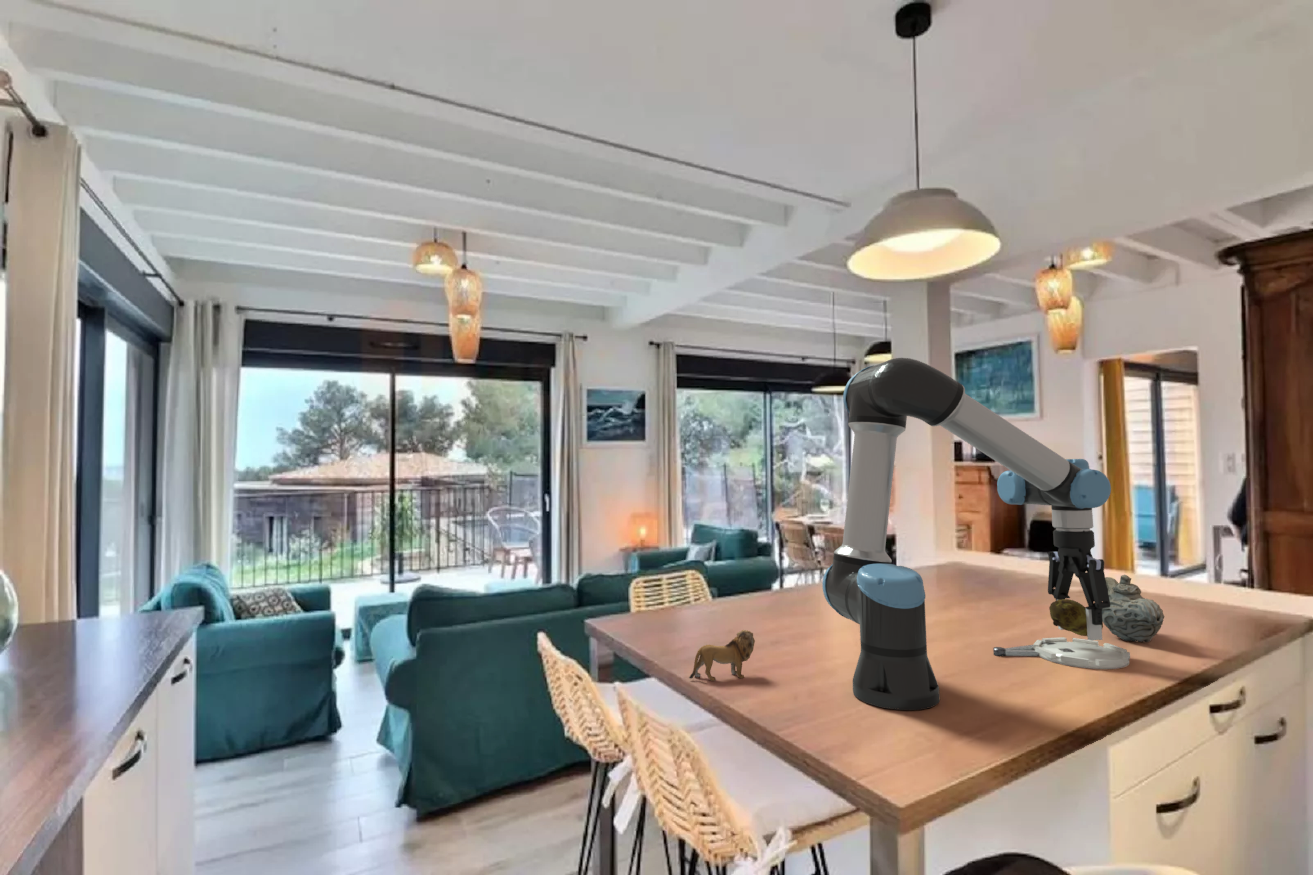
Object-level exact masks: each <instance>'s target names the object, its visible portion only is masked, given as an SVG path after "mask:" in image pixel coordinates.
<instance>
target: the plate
mask: <svg viewBox="0 0 1313 875" xmlns="http://www.w3.org/2000/svg"><path fill="white" fill-rule="evenodd" d="M1071 640H1072V641H1068V640H1067V637H1063V636H1062V637H1059V636H1058V637H1041V639H1036V641H1035V642H1034V643H1032V645H1033V649H1035V651H1037V652H1038V653H1039V656H1038V657H1039V658H1042V659H1044V660H1045V661H1049V662H1051V663H1055V664H1059V665H1062V666H1069V667H1073V668H1079V669H1080V668H1081V669H1090V670H1117V669H1122V668H1126V667H1128V666H1129V665H1130V659H1131V652H1130V651H1127V650H1128V649H1126V648H1123V647H1120V646H1117V645H1114V644H1113V643H1112V644H1111V643H1108V642H1104V643H1103V646H1102V645H1099V644H1100V643H1099V640H1088V639H1084V638H1078V637H1072V639H1071ZM1042 641H1043V642H1048V643H1049V644H1052V642H1053V643H1056V644H1052V645H1047V644H1048V643H1046V644H1043V643H1042ZM1060 648H1061V649H1062V648H1064V649H1065V648H1066V649H1067V650H1068V649H1071V650H1073V652H1069V651H1067V652H1063V650H1062V651H1061V650H1059V649H1060ZM1064 651H1065V650H1064Z"/></svg>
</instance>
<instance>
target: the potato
mask: <svg viewBox="0 0 1313 875" xmlns="http://www.w3.org/2000/svg"><path fill="white" fill-rule="evenodd" d="M1086 607H1087V606H1086ZM1086 607H1085V605H1083V604H1081V603H1080V602H1078V601H1075V600H1073V599H1070V598H1065V599H1060V600H1057V601H1056V600H1055V601H1053V602H1052V603H1050V605H1049V607H1048V608H1049V609H1048V610H1049V615H1050V619H1051V620H1052V624H1053V626H1055V627H1058V626H1059V627H1061V628H1063V629H1064V630H1065V631H1066V632H1067V631H1068V632H1072V633H1074V634H1075V635H1078V636H1080V637H1081V636H1083V637H1087V622H1086ZM1103 627H1104V623H1102V629H1103Z"/></svg>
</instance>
